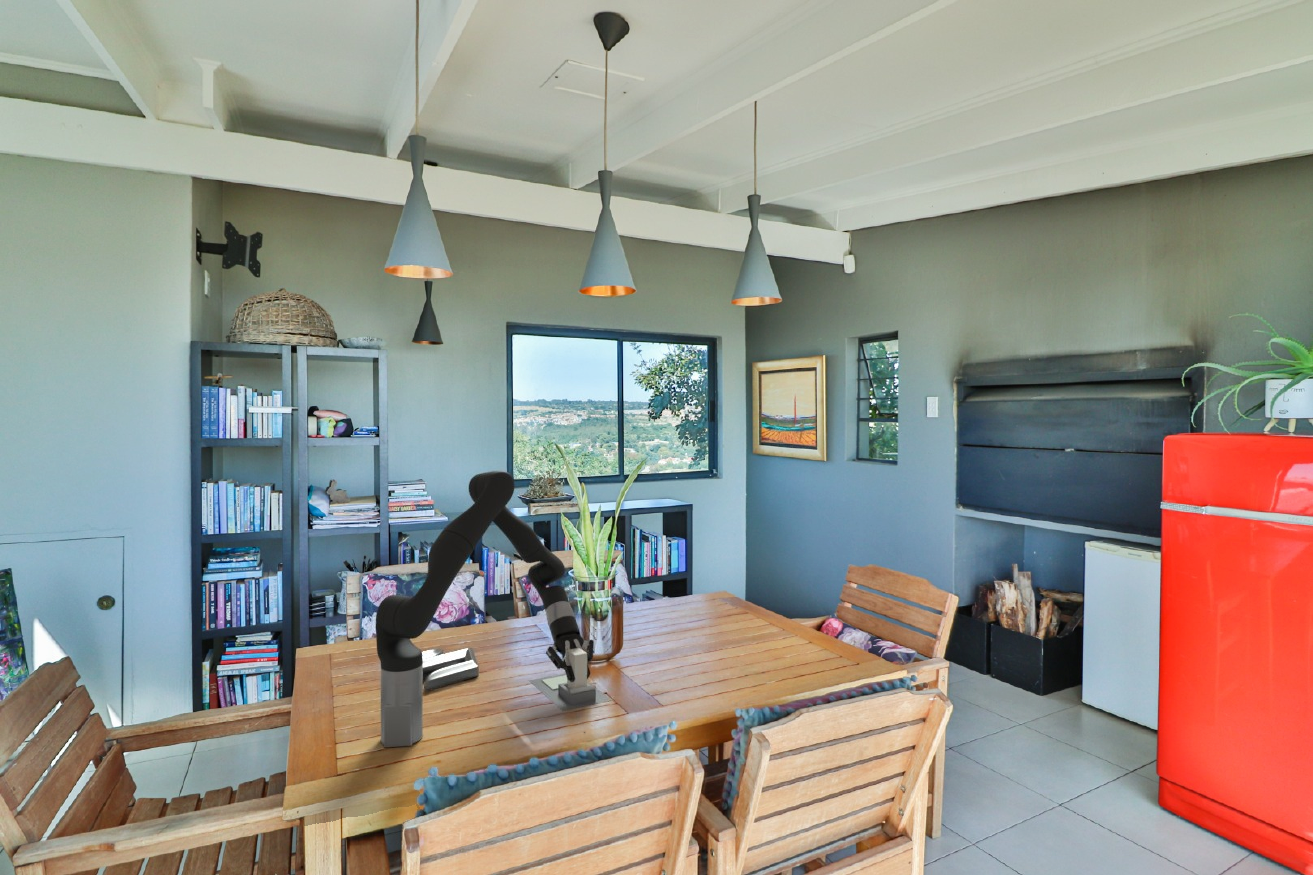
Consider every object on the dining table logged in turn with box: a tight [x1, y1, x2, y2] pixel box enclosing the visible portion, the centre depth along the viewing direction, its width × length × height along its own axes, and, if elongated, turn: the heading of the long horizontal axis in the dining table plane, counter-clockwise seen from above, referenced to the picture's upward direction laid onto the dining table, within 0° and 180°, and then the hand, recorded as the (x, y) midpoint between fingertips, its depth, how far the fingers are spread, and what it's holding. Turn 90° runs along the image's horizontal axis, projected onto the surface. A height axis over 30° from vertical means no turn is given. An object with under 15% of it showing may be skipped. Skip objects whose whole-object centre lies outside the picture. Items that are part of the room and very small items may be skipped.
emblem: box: [421, 647, 480, 692], centre depth 211 cm, size 28×5×28 cm
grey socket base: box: [528, 673, 613, 712], centre depth 196 cm, size 14×24×5 cm, turn 31°
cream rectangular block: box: [567, 648, 588, 690], centre depth 191 cm, size 4×5×12 cm
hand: (580, 679), depth 190 cm, fingers closed on cream rectangular block, 3 cm apart
